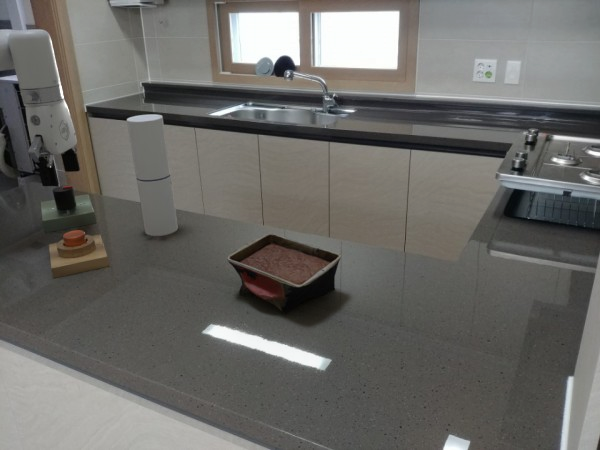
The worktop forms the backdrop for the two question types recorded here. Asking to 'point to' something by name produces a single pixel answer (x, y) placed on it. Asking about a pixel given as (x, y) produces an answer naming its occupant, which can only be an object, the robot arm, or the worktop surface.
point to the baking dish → (284, 270)
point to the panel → (67, 215)
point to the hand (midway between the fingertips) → (62, 178)
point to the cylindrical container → (153, 174)
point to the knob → (64, 197)
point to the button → (74, 238)
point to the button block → (78, 257)
